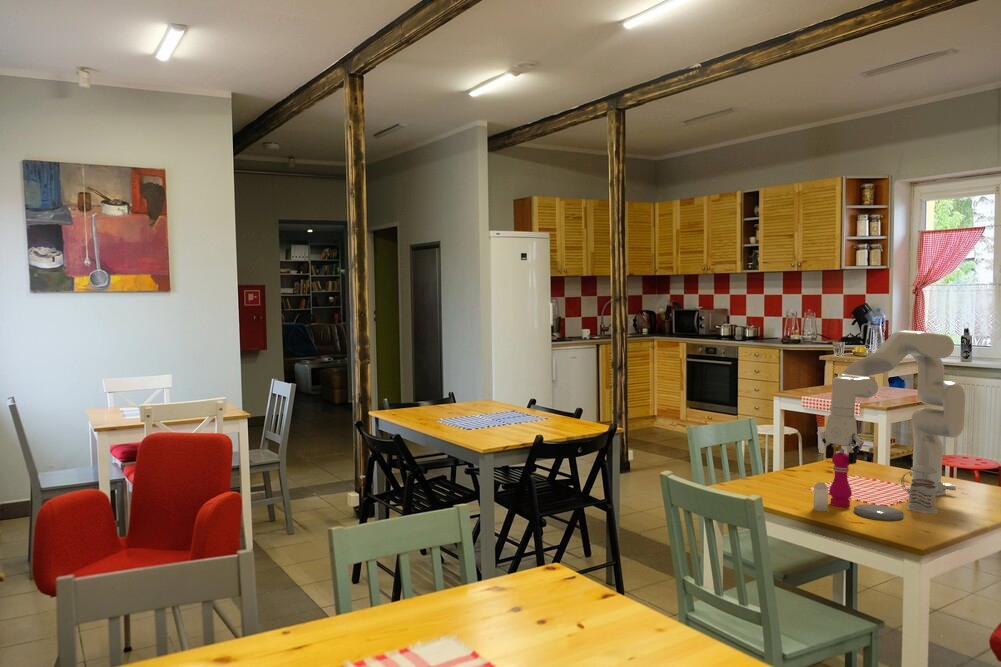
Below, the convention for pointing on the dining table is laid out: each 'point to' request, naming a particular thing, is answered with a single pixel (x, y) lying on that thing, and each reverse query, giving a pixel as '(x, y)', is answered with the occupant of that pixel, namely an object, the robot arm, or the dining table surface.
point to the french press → (922, 489)
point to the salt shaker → (820, 496)
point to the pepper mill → (840, 480)
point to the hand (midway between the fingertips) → (840, 460)
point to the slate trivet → (879, 512)
